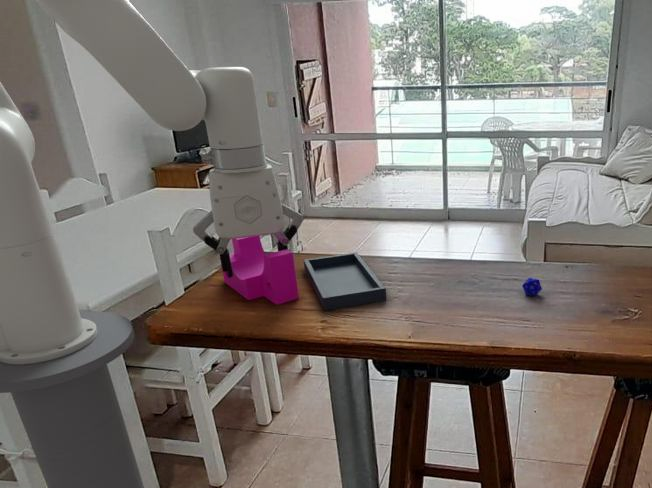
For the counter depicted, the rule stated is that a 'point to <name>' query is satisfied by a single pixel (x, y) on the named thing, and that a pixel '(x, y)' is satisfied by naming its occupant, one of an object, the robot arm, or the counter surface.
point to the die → (532, 287)
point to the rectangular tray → (343, 281)
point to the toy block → (262, 272)
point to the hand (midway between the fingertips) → (257, 270)
